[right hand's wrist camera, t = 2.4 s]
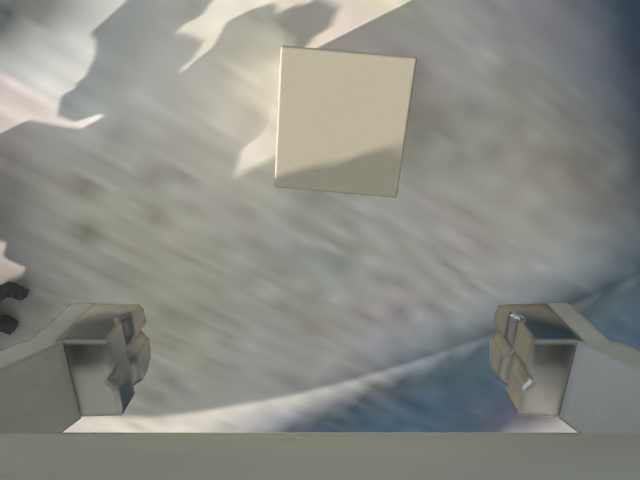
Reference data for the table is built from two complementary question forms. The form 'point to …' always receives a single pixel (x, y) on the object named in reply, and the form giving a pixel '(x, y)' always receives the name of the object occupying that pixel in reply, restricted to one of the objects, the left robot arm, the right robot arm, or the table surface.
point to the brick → (342, 120)
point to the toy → (16, 292)
